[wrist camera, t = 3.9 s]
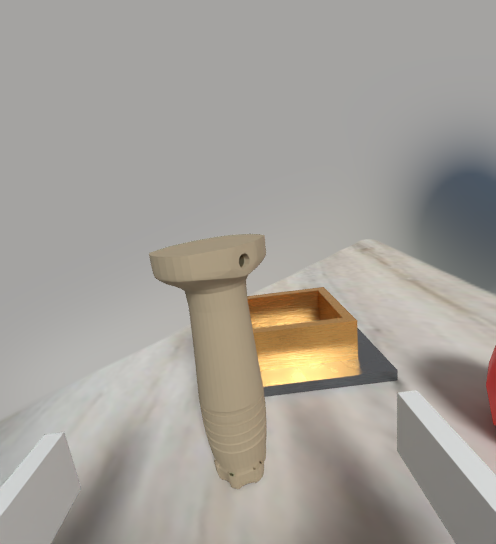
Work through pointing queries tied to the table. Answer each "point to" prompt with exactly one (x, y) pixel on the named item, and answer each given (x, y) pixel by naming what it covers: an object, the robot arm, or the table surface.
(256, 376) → the handle
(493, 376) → the apple
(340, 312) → the socket
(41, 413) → the table surface
